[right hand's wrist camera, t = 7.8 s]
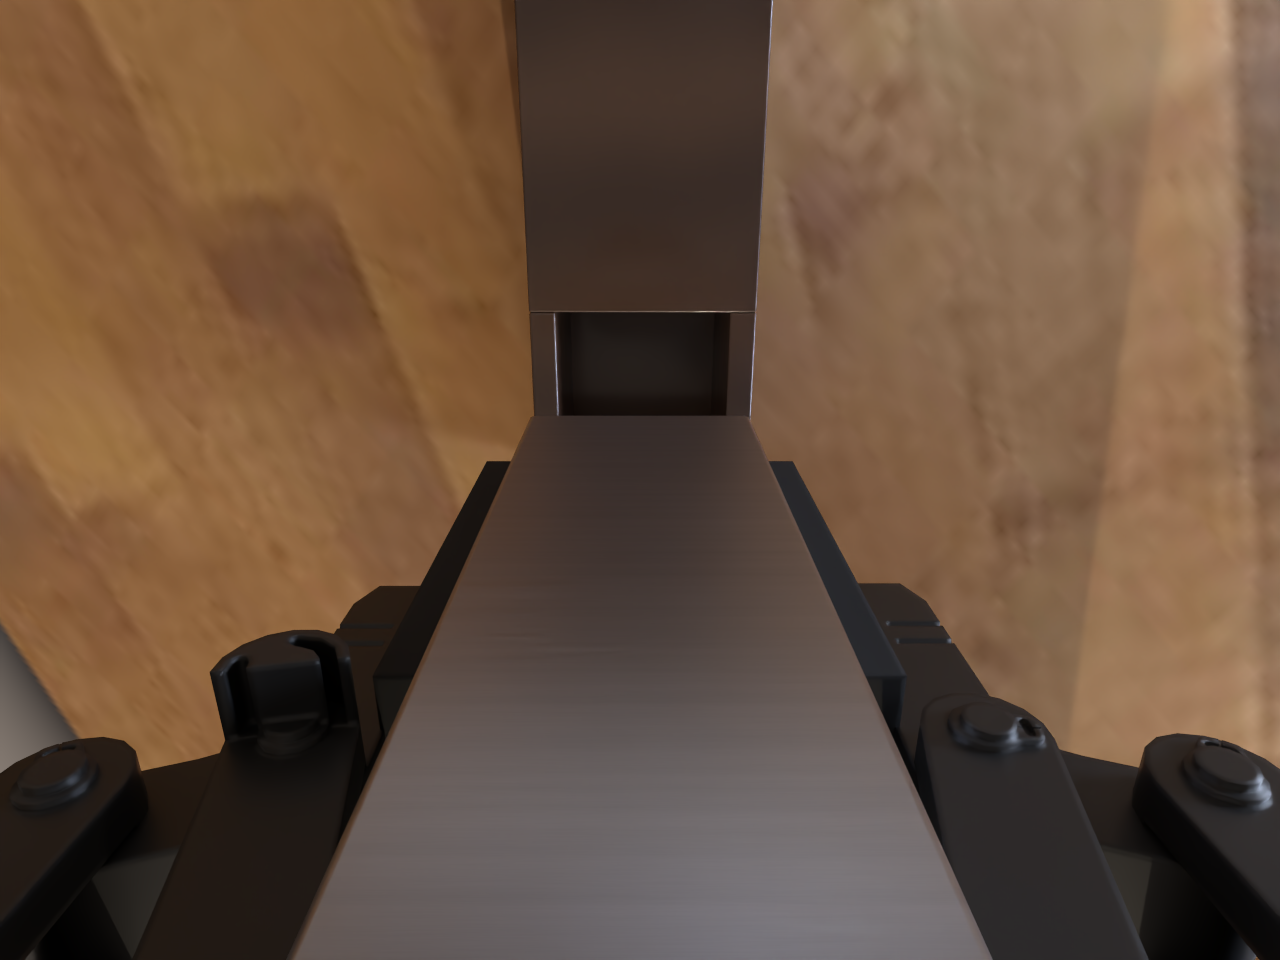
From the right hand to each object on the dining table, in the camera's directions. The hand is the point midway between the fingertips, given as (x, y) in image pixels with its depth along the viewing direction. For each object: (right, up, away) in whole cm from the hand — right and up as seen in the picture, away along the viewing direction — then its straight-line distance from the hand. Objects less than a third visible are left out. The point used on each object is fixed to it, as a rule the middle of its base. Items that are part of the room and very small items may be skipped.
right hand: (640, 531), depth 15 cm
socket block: (0, +13, +12) cm, 18 cm away
